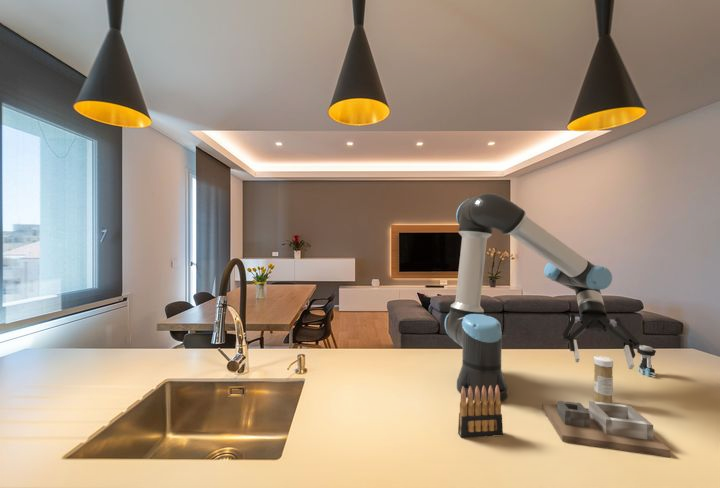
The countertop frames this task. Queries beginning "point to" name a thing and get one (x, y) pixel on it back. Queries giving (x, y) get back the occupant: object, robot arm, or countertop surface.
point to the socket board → (604, 426)
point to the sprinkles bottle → (603, 379)
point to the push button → (646, 360)
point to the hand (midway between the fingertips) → (603, 363)
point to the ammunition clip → (480, 413)
